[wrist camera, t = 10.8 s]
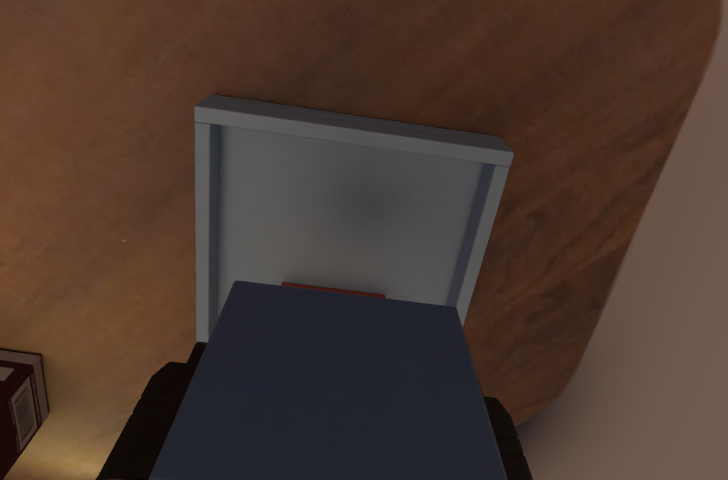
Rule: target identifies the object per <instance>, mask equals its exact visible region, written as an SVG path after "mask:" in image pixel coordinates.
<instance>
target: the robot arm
mask: <svg viewBox="0 0 728 480" xmlns="http://www.w3.org/2000/svg"><path fill="white" fill-rule="evenodd" d="M207 343H208V342H199V341H198V342H197V343H196V344H195V346H194V348H193V351H192V353H191V355H190V357H189V359H188V361H187V363H178V362H168V363H167V364H166V365H165V366H164V367H163V368H161V369H160V370H159V371H158V372H157V373H155V374H154V375H153V376H152V377H151V379H150V380H149V382H148V384H147V386H146V388H145V390H144V392H143V393H142V395H141V399H139V401H138V403H137V405H136V406H135V408H134V410H133V414H132V415H131V416H130V418H129V420H128V421H127V423H126V425H125V427H124V429H123V431H122V433H121V434H120V436H119V438H118V440H117V442H116V444H115V446H114V447H113V449H112V451H111V453H110V455H109V457H108V459H107V460H106V462H105V464H104V466H103V468H102V470H101V472H100V474H99V475H98V477H97V478H96V480H148V479H149V477H150V475H151V473H152V470H153V468H154V466H155V463H156V461H157V459H158V456H159V454H160V452H161V449H162V447H163V445H164V442H165V440H166V438H167V436H168V433H169V431H170V429H171V426H172V424H173V422H174V419H175V417H176V415H177V412H178V410H179V408H180V405H181V403H182V401H183V399H184V396H185V394H186V392H187V389H188V387H189V385H190V382H191V380H192V378H193V375H194V373H195V371H196V368H197V366H198V364H199V362H200V359H201V357H202V355H203V352H204V350H205V348H206V345H207ZM477 378H478V377H477ZM478 382H479V380H478ZM479 385H480V383H479ZM480 389H481V387H480ZM481 392H482V390H481ZM482 395H483V393H482ZM483 399H484V402H485V405H486V409H487V412H488V416H489V419H490V422H491V426H492V429H493V432H494V436H495V439H496V442H497V446H498V449H499V453H500V456H501V459H502V463H503V466H504V469H505V473H506V476H507V480H533V478H532V476H531V473H530V470H529V467H528V464H527V461H526V458H525V456H523V450H522V447H521V444H520V441H519V439H517V433H516V430H515V427H514V424H513V421H512V418H511V416H510V414H509V413H508V412H507V411H506V409H505V408H504V407H503V406H502V404H501V403H500V402H499V401H498V400H497V398H492V397H483Z"/></svg>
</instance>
